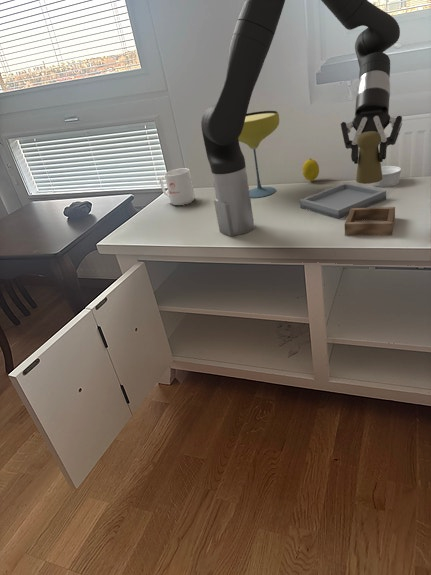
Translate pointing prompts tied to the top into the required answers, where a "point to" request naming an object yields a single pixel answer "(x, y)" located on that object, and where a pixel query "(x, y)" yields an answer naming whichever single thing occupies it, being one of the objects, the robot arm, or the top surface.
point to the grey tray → (342, 199)
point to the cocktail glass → (253, 134)
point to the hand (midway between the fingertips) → (368, 160)
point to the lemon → (310, 169)
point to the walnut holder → (370, 227)
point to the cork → (369, 158)
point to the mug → (178, 186)
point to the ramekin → (389, 176)
